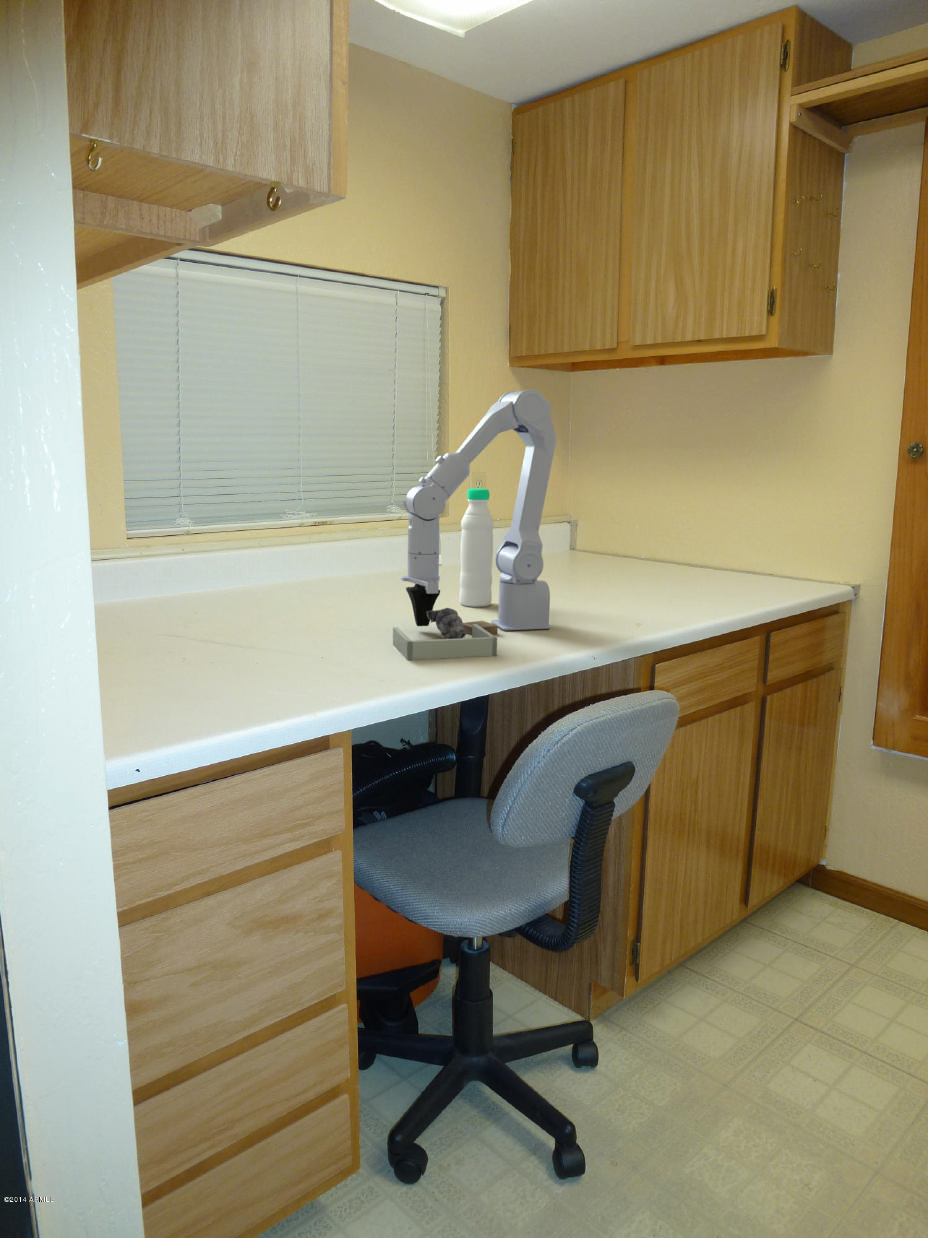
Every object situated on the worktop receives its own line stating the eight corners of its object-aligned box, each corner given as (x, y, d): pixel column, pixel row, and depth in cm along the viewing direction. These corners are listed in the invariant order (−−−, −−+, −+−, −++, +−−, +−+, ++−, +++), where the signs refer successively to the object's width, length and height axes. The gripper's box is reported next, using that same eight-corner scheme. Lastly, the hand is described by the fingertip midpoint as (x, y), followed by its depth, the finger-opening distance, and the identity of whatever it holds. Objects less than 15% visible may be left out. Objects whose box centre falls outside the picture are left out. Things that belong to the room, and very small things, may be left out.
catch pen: (476, 640, 155) (476, 624, 154) (496, 655, 144) (497, 637, 143) (392, 644, 150) (392, 627, 150) (407, 660, 140) (407, 642, 139)
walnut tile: (482, 630, 164) (482, 620, 164) (497, 636, 160) (497, 625, 160) (460, 633, 162) (460, 623, 161) (474, 639, 157) (475, 628, 157)
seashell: (422, 622, 158) (446, 653, 151) (425, 597, 155) (450, 627, 148) (448, 618, 161) (473, 648, 153) (451, 593, 158) (477, 622, 151)
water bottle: (488, 608, 184) (492, 490, 179) (456, 606, 186) (458, 488, 181) (494, 602, 191) (497, 488, 186) (462, 600, 192) (465, 487, 187)
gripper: (393, 547, 163) (392, 618, 166) (411, 558, 150) (410, 634, 153) (429, 547, 165) (428, 617, 168) (450, 557, 152) (448, 633, 155)
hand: (422, 625), depth 161 cm, fingers closed
